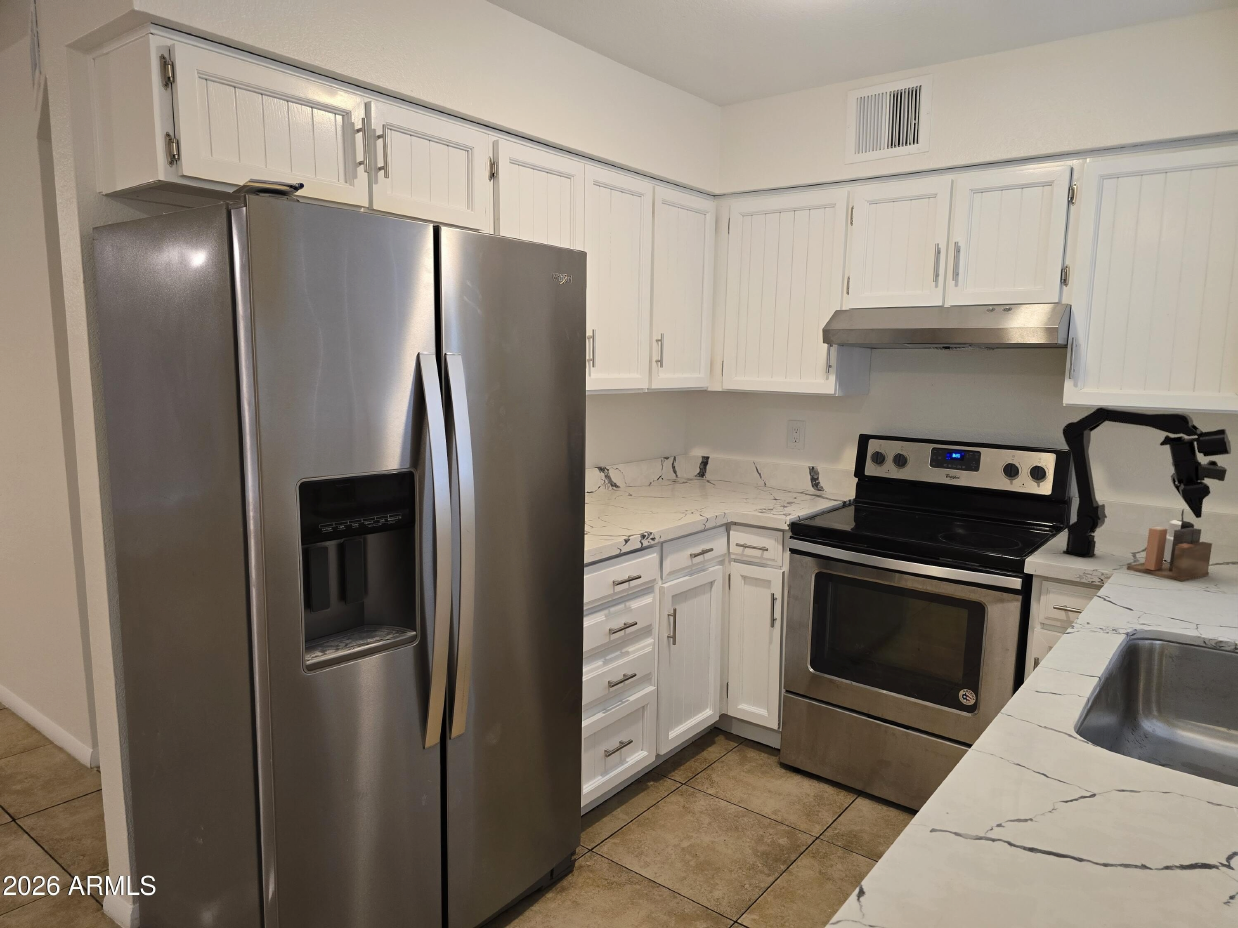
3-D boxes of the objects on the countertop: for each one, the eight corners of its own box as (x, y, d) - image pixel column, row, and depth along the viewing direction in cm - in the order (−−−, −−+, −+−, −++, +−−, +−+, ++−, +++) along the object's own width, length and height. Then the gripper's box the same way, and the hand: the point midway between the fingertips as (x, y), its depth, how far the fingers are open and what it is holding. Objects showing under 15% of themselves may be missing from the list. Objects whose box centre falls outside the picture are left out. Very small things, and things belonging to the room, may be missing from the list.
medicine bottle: (1182, 559, 240) (1187, 519, 238) (1196, 565, 233) (1202, 524, 231) (1156, 557, 240) (1162, 518, 239) (1170, 563, 233) (1176, 522, 232)
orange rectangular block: (1143, 567, 220) (1149, 527, 219) (1152, 566, 222) (1157, 526, 221) (1153, 570, 218) (1159, 529, 216) (1162, 568, 220) (1167, 527, 219)
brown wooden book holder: (1126, 569, 223) (1132, 525, 222) (1154, 563, 232) (1160, 521, 230) (1181, 581, 212) (1187, 535, 210) (1208, 575, 220) (1214, 531, 219)
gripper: (1228, 459, 208) (1239, 517, 209) (1213, 446, 224) (1223, 500, 226) (1176, 467, 213) (1188, 524, 215) (1165, 454, 230) (1176, 506, 231)
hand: (1195, 513), depth 221 cm, fingers open, 9 cm apart
